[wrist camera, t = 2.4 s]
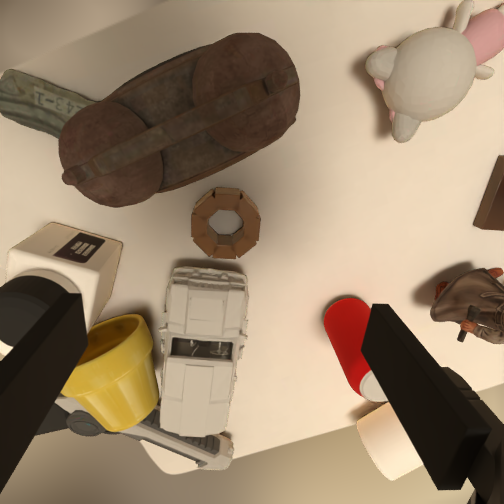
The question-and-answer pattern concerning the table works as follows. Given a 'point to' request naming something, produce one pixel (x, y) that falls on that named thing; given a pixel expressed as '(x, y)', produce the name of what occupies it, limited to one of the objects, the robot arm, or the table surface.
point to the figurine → (473, 304)
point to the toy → (436, 67)
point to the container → (55, 277)
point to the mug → (388, 443)
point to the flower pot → (116, 373)
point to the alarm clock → (181, 120)
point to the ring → (225, 243)
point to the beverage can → (352, 345)
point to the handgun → (141, 433)
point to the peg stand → (493, 201)
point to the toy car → (201, 348)
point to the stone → (37, 102)
